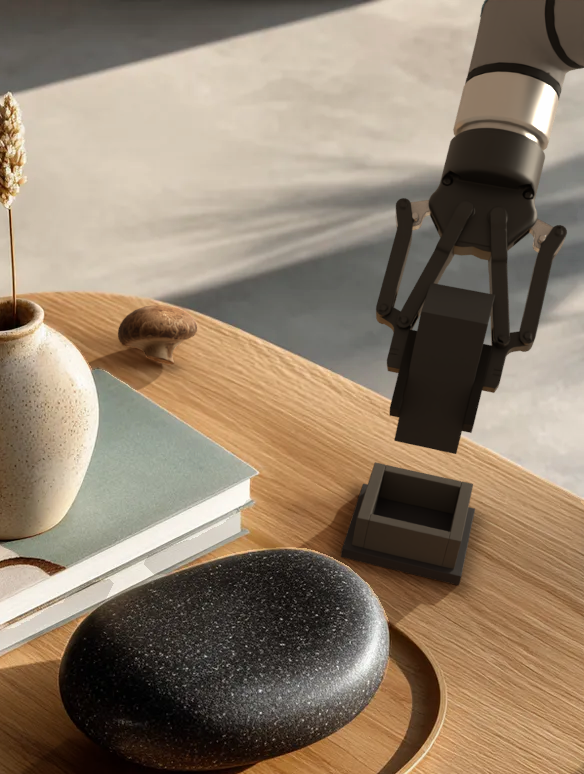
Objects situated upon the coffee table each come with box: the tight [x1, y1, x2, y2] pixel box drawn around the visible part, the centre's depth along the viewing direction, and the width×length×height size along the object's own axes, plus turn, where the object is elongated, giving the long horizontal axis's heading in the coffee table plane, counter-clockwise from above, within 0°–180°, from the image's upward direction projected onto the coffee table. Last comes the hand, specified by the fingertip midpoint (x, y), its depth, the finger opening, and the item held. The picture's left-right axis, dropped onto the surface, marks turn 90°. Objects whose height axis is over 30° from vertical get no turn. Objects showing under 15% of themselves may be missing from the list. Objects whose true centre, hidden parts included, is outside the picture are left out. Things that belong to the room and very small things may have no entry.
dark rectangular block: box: [394, 283, 495, 455], centre depth 106 cm, size 5×5×12 cm
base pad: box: [340, 462, 476, 586], centre depth 115 cm, size 10×10×4 cm
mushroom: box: [117, 304, 198, 365], centre depth 137 cm, size 8×8×6 cm
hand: (430, 419), depth 105 cm, fingers closed on dark rectangular block, 5 cm apart
